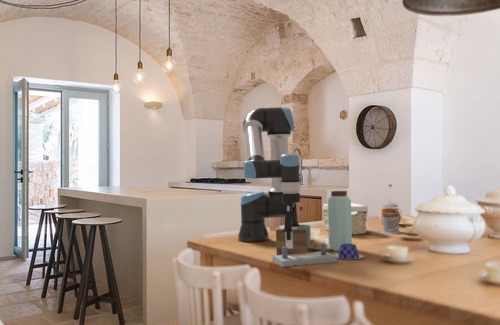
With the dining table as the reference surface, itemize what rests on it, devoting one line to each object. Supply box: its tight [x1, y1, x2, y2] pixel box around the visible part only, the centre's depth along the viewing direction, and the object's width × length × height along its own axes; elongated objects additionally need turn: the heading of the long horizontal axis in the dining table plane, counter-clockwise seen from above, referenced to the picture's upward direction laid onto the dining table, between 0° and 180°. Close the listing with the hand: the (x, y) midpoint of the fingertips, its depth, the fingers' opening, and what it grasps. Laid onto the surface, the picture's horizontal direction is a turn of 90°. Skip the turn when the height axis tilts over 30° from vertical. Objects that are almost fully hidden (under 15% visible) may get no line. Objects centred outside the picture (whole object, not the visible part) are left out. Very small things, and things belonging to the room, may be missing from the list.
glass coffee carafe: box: [381, 207, 402, 225], centre depth 274 cm, size 9×12×9 cm
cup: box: [297, 224, 311, 249], centre depth 208 cm, size 8×8×10 cm
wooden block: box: [275, 228, 309, 255], centre depth 191 cm, size 4×12×11 cm, turn 76°
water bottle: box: [327, 190, 353, 252], centre depth 203 cm, size 10×10×25 cm
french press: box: [381, 183, 403, 235], centre depth 246 cm, size 10×12×25 cm
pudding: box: [334, 243, 365, 261], centre depth 187 cm, size 12×12×5 cm
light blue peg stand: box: [272, 243, 338, 268], centre depth 182 cm, size 11×22×6 cm, turn 106°
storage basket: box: [322, 202, 369, 235], centre depth 251 cm, size 24×16×15 cm
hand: (292, 245), depth 191 cm, fingers open, 13 cm apart
